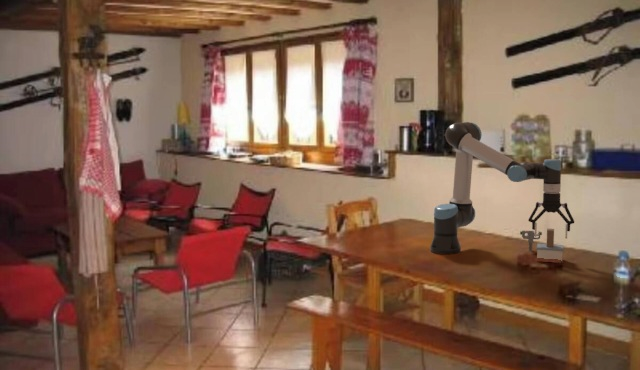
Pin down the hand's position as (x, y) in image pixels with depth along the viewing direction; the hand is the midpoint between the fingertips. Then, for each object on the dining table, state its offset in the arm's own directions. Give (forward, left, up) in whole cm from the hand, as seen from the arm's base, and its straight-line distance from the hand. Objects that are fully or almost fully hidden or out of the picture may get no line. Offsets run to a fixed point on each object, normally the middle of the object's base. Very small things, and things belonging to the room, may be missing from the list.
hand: (550, 237), depth 301 cm
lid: (0, 0, -5) cm, 5 cm away
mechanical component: (-10, +19, -12) cm, 24 cm away
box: (0, 0, -11) cm, 11 cm away
